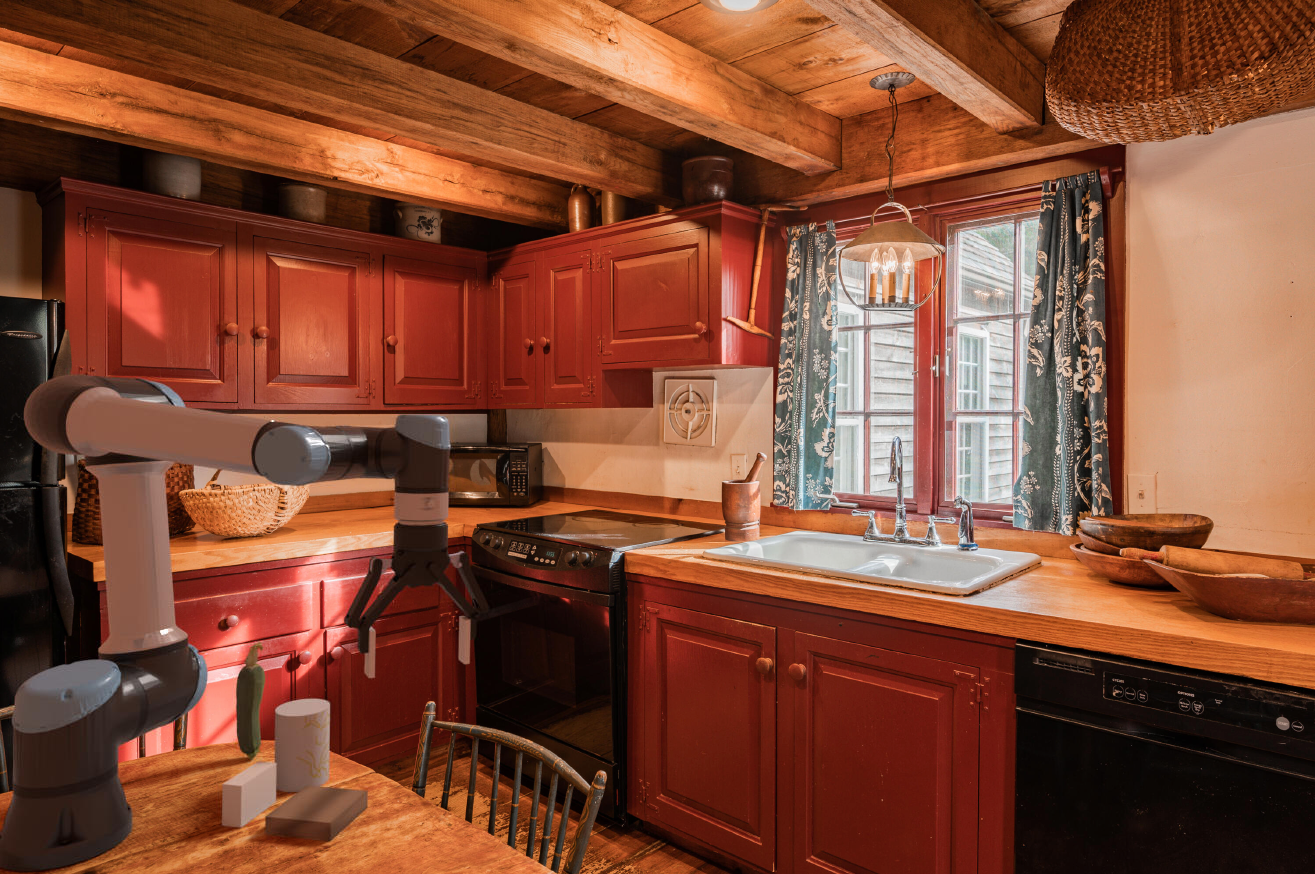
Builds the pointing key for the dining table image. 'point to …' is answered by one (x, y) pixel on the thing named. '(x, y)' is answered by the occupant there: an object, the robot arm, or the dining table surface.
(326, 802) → the board
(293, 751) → the grey cylinder
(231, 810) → the block
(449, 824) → the dining table surface
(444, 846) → the dining table surface
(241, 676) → the vegetable
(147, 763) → the dining table surface
